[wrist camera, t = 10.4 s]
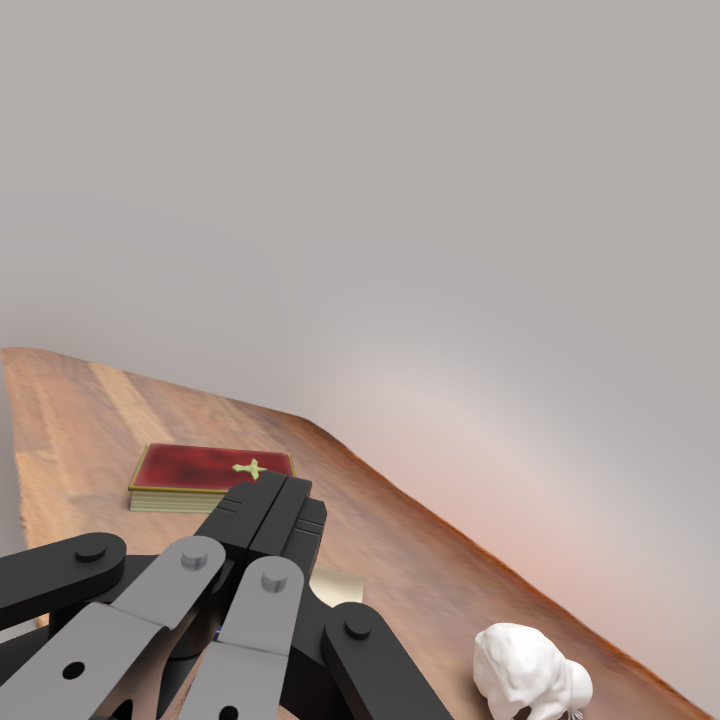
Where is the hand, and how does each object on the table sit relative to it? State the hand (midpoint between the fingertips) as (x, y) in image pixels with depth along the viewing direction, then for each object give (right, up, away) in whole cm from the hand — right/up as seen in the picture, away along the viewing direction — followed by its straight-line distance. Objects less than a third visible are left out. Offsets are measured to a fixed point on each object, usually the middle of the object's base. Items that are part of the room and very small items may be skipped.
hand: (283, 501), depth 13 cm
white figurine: (+17, -28, +26) cm, 42 cm away
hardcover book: (-18, -15, +47) cm, 53 cm away
